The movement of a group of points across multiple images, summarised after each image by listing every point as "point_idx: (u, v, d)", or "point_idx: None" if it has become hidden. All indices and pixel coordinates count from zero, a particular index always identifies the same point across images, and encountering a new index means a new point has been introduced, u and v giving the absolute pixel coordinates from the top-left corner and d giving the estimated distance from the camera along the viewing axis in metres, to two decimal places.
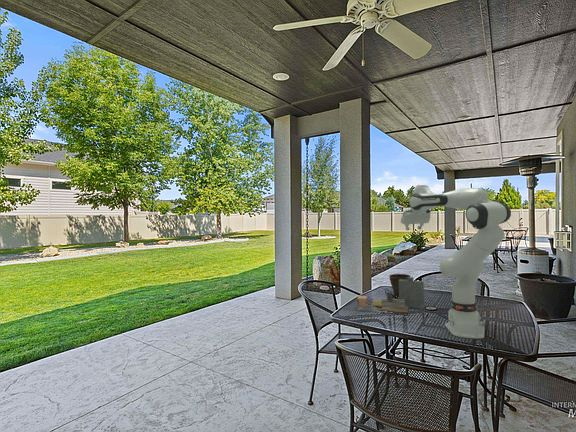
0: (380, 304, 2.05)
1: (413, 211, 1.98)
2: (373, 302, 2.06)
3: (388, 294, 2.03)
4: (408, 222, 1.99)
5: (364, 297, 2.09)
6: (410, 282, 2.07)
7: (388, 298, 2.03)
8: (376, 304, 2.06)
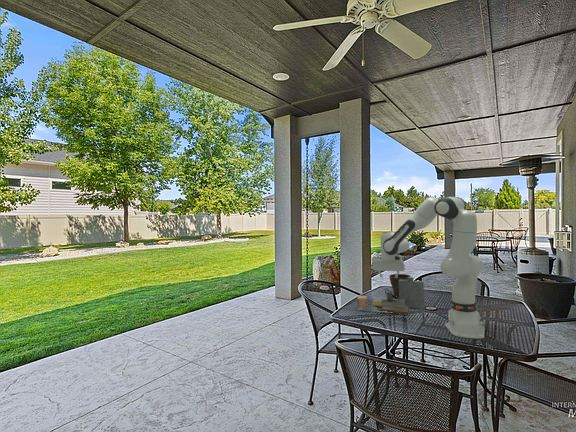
0: (380, 304, 2.05)
1: (381, 257, 2.04)
2: (373, 302, 2.06)
3: (388, 294, 2.03)
4: (377, 268, 2.05)
5: (364, 297, 2.09)
6: (410, 282, 2.07)
7: (388, 298, 2.03)
8: (376, 304, 2.06)
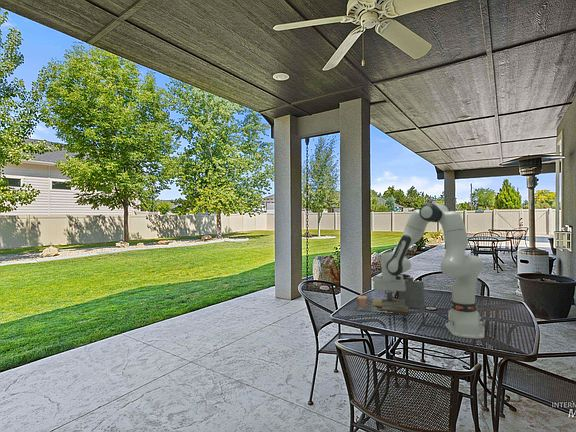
0: (380, 304, 2.05)
1: (382, 277, 2.04)
2: (373, 302, 2.06)
3: (388, 294, 2.03)
4: (378, 288, 2.05)
5: (364, 297, 2.09)
6: (410, 282, 2.07)
7: (388, 298, 2.03)
8: (376, 304, 2.06)
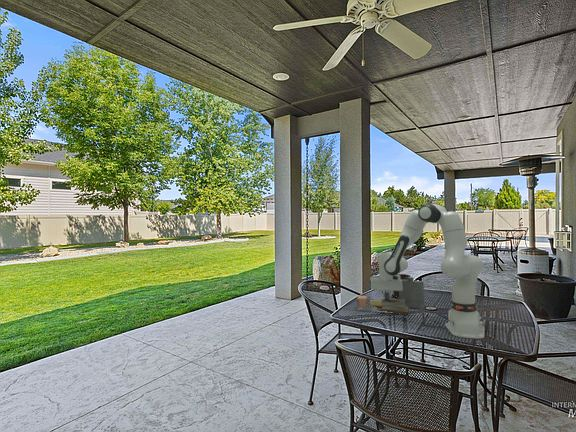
0: (377, 304, 2.05)
1: (379, 277, 2.05)
2: (370, 302, 2.07)
3: (385, 294, 2.04)
4: (376, 287, 2.05)
5: (364, 297, 2.09)
6: (410, 282, 2.07)
7: (385, 298, 2.04)
8: (373, 304, 2.06)
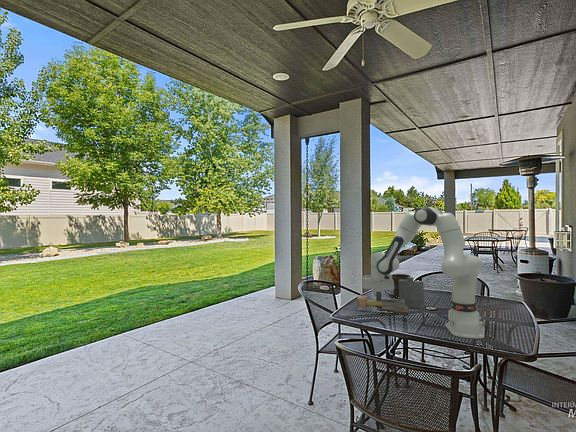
0: (369, 303, 2.07)
1: (371, 276, 2.07)
2: None
3: (377, 293, 2.06)
4: (367, 287, 2.07)
5: (364, 297, 2.09)
6: (410, 282, 2.07)
7: (377, 297, 2.06)
8: None
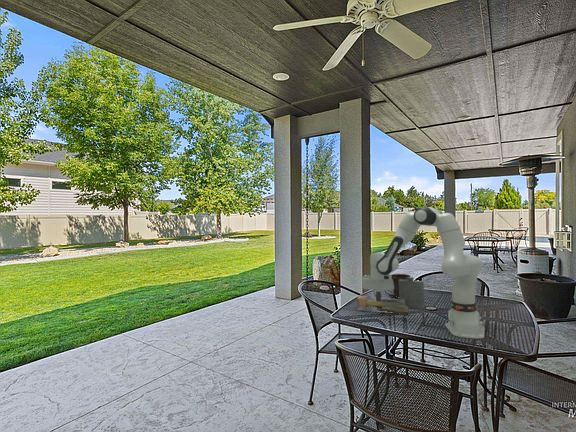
0: (369, 303, 2.07)
1: (371, 276, 2.07)
2: None
3: (377, 293, 2.06)
4: (367, 287, 2.07)
5: (364, 297, 2.09)
6: (410, 282, 2.07)
7: (377, 297, 2.06)
8: None
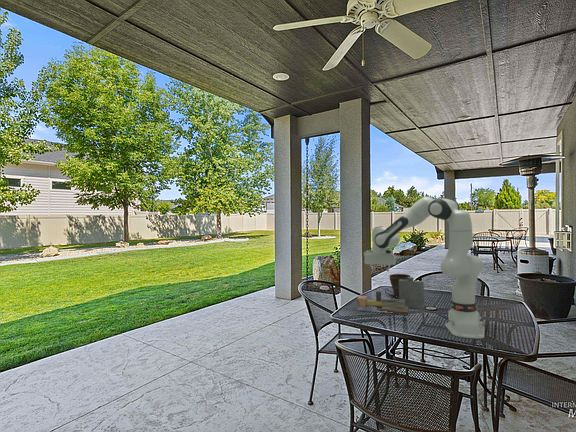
0: (369, 303, 2.07)
1: (372, 251, 2.09)
2: None
3: (377, 293, 2.06)
4: (369, 262, 2.10)
5: (364, 297, 2.09)
6: (410, 282, 2.07)
7: (377, 297, 2.06)
8: None
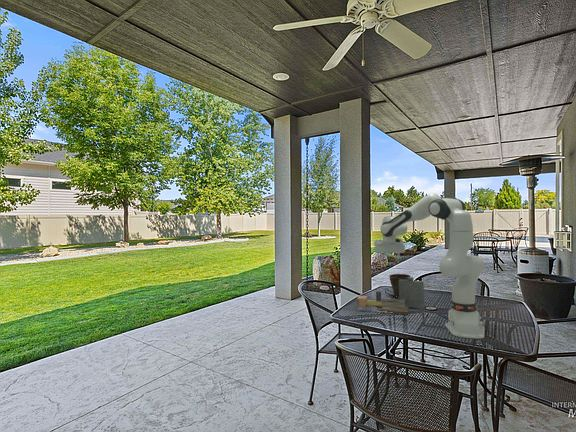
0: (369, 303, 2.07)
1: (383, 240, 2.18)
2: None
3: (377, 293, 2.06)
4: (379, 251, 2.18)
5: (364, 297, 2.09)
6: (410, 282, 2.07)
7: (377, 297, 2.06)
8: None
